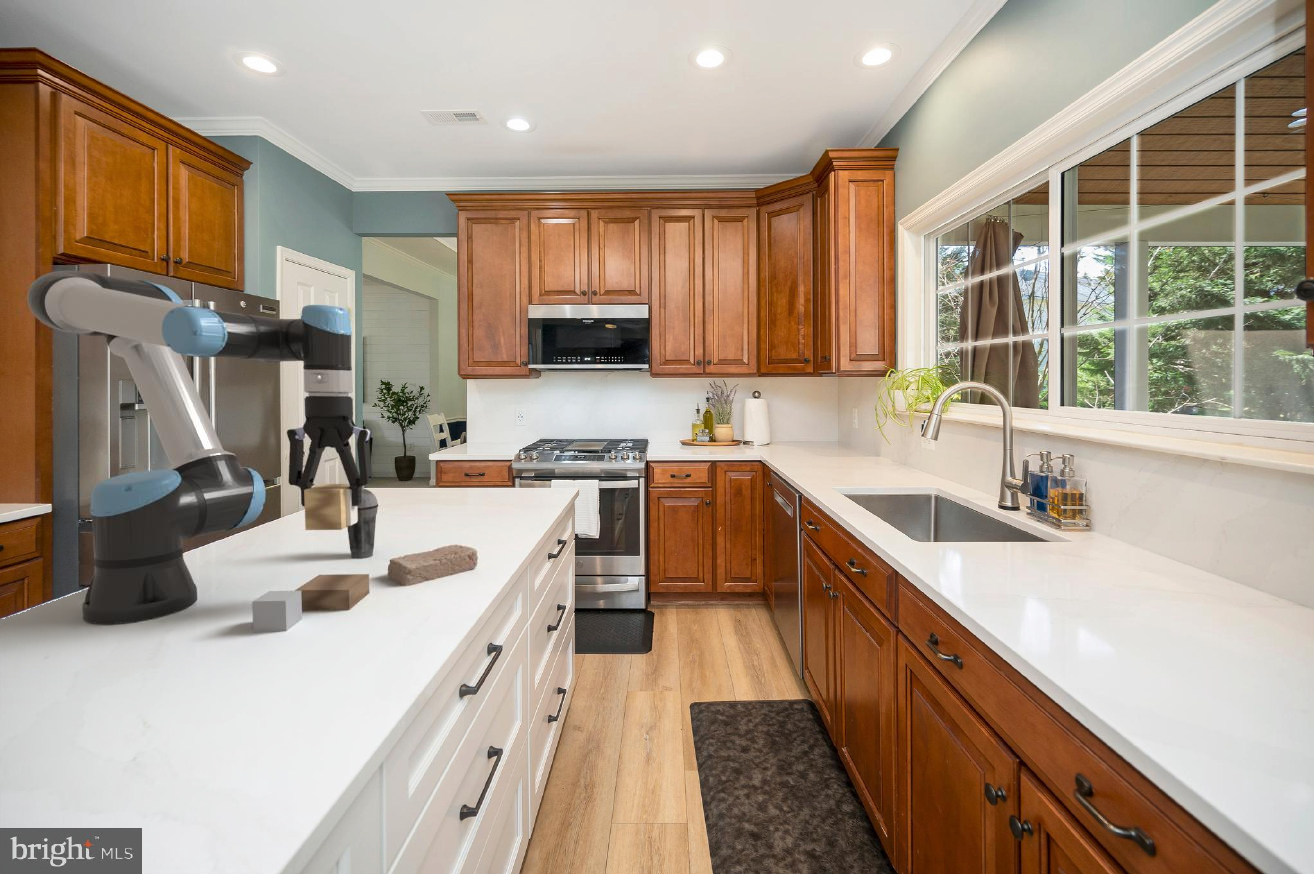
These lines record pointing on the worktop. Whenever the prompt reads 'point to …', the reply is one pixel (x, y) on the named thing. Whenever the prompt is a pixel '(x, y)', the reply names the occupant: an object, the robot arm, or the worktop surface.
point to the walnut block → (334, 592)
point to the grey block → (277, 611)
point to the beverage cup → (364, 527)
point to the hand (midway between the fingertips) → (332, 523)
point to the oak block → (326, 507)
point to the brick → (432, 564)
